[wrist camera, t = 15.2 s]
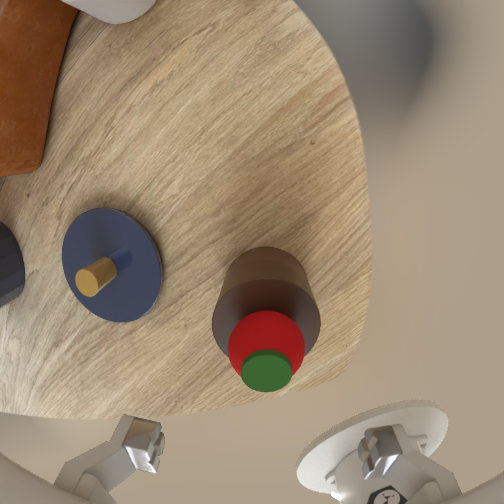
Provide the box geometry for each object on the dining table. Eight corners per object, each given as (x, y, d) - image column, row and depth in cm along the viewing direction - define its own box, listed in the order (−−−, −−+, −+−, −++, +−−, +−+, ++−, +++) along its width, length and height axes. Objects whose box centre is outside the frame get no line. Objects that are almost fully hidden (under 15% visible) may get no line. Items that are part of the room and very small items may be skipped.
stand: (318, 301, 25) (335, 346, 18) (248, 332, 26) (243, 382, 19) (285, 232, 23) (293, 258, 17) (210, 268, 24) (191, 305, 18)
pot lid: (187, 291, 25) (172, 317, 21) (106, 330, 27) (85, 354, 22) (126, 183, 23) (98, 187, 18) (53, 240, 24) (24, 253, 20)
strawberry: (311, 340, 18) (322, 386, 14) (251, 364, 19) (248, 412, 14) (283, 286, 17) (289, 325, 13) (219, 314, 18) (206, 358, 13)
